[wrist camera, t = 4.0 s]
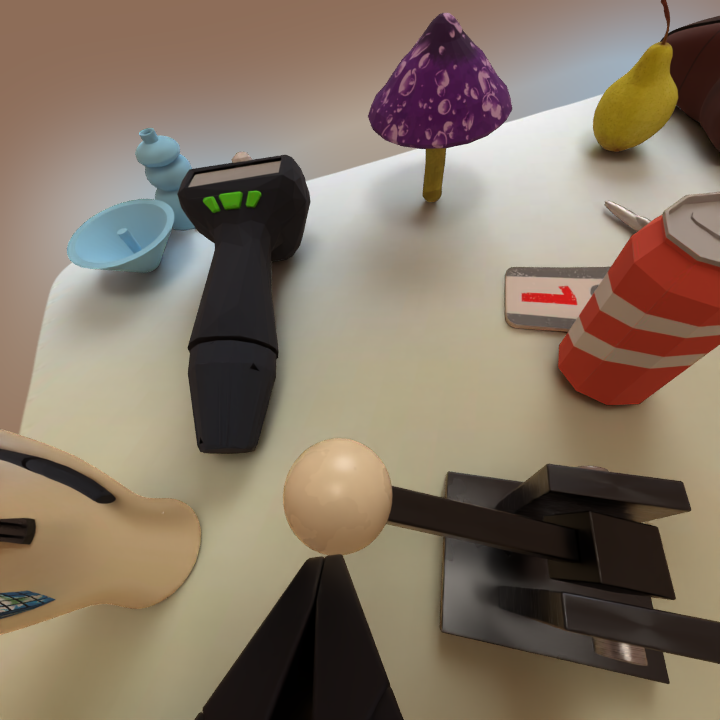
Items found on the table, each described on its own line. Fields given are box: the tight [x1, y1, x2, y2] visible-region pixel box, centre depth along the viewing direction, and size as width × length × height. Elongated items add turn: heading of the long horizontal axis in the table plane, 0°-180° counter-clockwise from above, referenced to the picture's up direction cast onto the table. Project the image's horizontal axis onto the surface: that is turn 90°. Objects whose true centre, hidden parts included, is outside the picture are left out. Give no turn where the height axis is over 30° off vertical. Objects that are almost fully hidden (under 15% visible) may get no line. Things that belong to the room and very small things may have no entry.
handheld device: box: [177, 152, 310, 454], centre depth 29 cm, size 11×26×10 cm, turn 2°
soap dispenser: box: [67, 128, 195, 273], centre depth 35 cm, size 18×10×9 cm, turn 164°
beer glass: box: [0, 429, 201, 635], centre depth 16 cm, size 7×7×15 cm
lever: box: [283, 438, 676, 600], centre depth 12 cm, size 13×4×4 cm, turn 80°
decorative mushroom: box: [368, 13, 512, 202], centre depth 32 cm, size 12×12×15 cm
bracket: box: [440, 464, 720, 684], centre depth 15 cm, size 10×8×10 cm
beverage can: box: [558, 192, 720, 405], centre depth 20 cm, size 6×6×12 cm
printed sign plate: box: [505, 267, 611, 332], centre depth 28 cm, size 7×1×10 cm
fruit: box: [593, 0, 678, 152], centre depth 34 cm, size 7×7×12 cm
